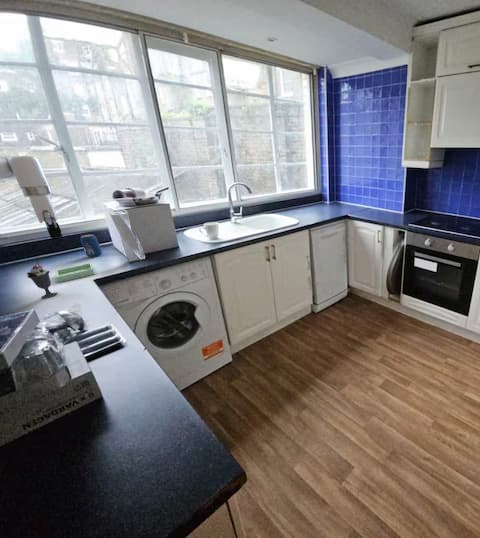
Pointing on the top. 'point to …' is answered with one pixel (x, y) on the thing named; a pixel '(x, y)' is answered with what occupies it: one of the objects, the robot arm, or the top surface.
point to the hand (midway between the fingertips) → (56, 235)
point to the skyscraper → (128, 236)
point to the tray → (74, 272)
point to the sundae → (41, 279)
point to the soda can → (91, 245)
